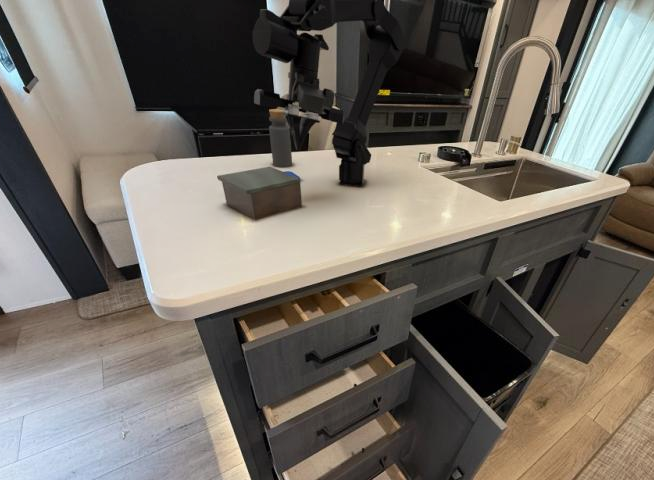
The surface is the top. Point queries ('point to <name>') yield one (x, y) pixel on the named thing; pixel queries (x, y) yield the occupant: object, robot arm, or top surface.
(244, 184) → the lid
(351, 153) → the robot arm
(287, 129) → the bottle
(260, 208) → the box
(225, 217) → the top surface
